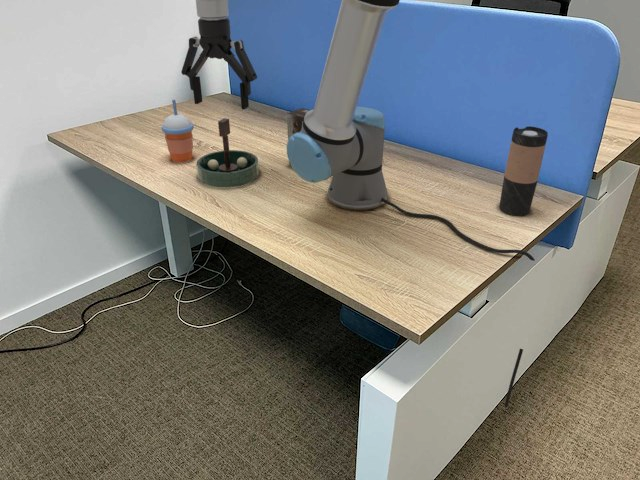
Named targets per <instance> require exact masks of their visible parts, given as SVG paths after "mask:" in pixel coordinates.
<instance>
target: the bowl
mask: <svg viewBox="0 0 640 480" xmlns="http://www.w3.org/2000/svg"><path fill="white" fill-rule="evenodd" d="M229 152H230V163H232V164H236V165H237V160H238V159H239V158H241V157H243V158H245V159H246V160H247V166H246V167H244V168H240V167H239V166H238V165H237V166H238V171H234V172H219V166H220V165H222V164H225V158H224V150H217V151H213V152H209V153H207V154H204V155H202V156H201V157H199V158H198V160H197V161H196V171H197V172H196V173H197V179H198V180H199V181H200V182H201V183H202V184H204V185H207V186H211V187H217V188H233V187H239V186H243V185H246V184H249V183H251V182H254V180H256V179H257V178H258V177H259V175H260V167H259V166H260V165H259V158H258V156H257V155H256V154H254V153H252V152H249V151H246V150H239V149H238V150H236V149H234V150H233V149H229ZM212 159H214V160H216V161H217V162H218V168H217V169H216V170H211V169H209V167H208V162H209V161H210V160H212Z"/></svg>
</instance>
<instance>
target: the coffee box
mask: <svg viewBox="0 0 640 480" xmlns="http://www.w3.org/2000/svg"><path fill="white" fill-rule="evenodd" d="M310 110H311V109H308V108H303V107H300V108H297V109H293V110H292V111H289V112H287V113H286V124H287V141H288V140H289V138H290V137H291V136H293V134H295V133H299V132H300V131H301V129H302V125H303V121H304V117H305V115H306V113H307V112H308V111H310ZM288 165H289V166H291V163H290V162H289V161H288Z"/></svg>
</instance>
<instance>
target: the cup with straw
mask: <svg viewBox="0 0 640 480" xmlns="http://www.w3.org/2000/svg"><path fill="white" fill-rule="evenodd" d="M172 109H173V114H170V115H169V116H167V117H166V118H165V119H164V122H163V124H162V125H161V131H162V133H164V135H165V136H164V138H165V143H166V146H167V151H168V153H169V155H170V160H171V162H172V161H173V162H174V163H184V162H189V161H191V160H192V159H193V156H194V155H193V150H194V138H193V137H194V136H193V130H194V123H193V122H192V121H190V119H189V118H188V117H187V116H186V115H184V114H180V113H178V109H177V101H176V99H172Z"/></svg>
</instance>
